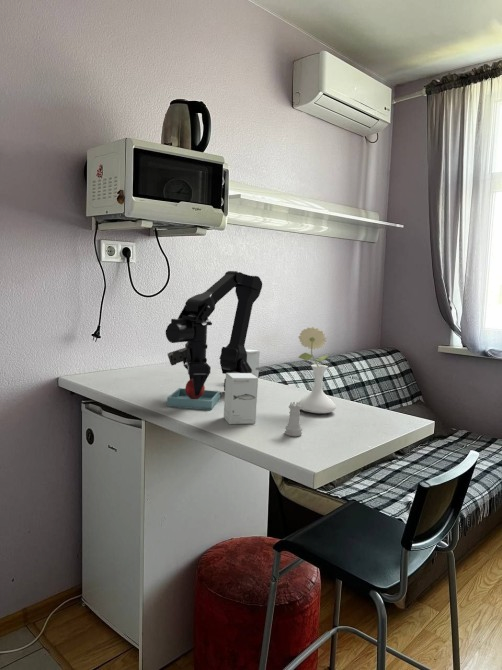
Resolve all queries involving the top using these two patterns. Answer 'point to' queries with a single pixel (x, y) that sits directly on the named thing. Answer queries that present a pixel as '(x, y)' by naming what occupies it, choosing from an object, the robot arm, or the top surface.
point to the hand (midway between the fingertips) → (194, 391)
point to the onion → (191, 392)
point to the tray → (193, 400)
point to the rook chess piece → (294, 421)
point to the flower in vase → (315, 374)
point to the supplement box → (240, 398)
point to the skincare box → (253, 361)
